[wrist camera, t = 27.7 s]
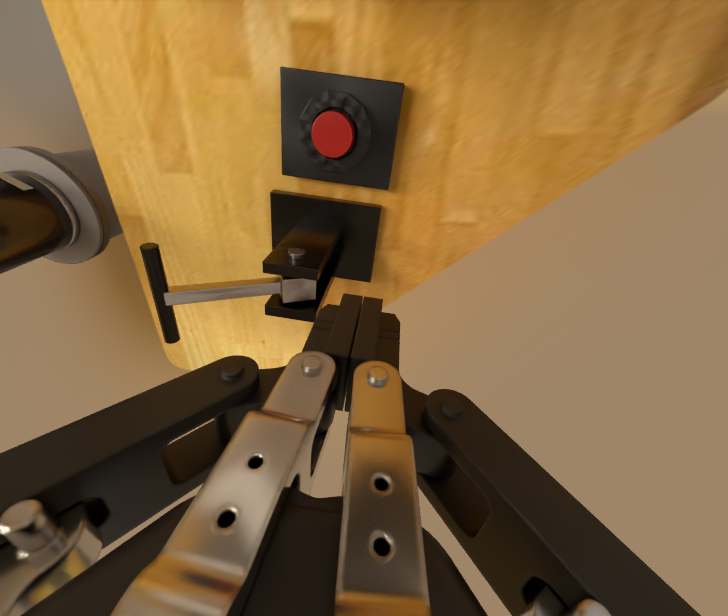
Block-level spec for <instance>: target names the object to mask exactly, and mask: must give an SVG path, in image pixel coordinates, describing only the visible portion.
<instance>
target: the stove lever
mask: <svg viewBox="0 0 728 616" xmlns="http://www.w3.org/2000/svg"><path fill="white" fill-rule="evenodd" d="M140 250H141V254H142V257H143V261H144V265H145V269H146V272H147V276H148V280H149V284H150V287H151V291H152V295H153V299H154V302H155V306H156V310H157V314H158V317H159V321H160V325H161V329H162V332H163V336H164V340H165V342H166V343H169V344H171V343H176V342H178V341H179V340H180V335H179V331H178V326H177V322H176V318H175V313H174V309H173V305H178V304H188V303H197V302H206V301H215V300H224V299H233V298H243V297H252V296H261V295H270V294H280V296H281V299H282V301H283V303H289V302H297V301H306V300H314V299H316V281H314V280H308V279H301V278H295V277H288V276H282V275H277V277H273V278H262V279H250V280H239V281H228V282H217V283H205V284H194V285H183V286H172V287H168V283H167V279H166V275H165V271H164V266H163V262H162V258H161V254H160V249H159V245H158V244H156V243H146V244H142V245H141V246H140Z"/></svg>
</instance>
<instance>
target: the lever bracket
mask: <svg viewBox="0 0 728 616" xmlns="http://www.w3.org/2000/svg"><path fill="white" fill-rule="evenodd" d="M270 197H271V224H272V252H271V253H270V254H269V255H268V256H267V257H266V258H265V260H264V261H263V273H269V274H275V275H282V276H288V277H295V278H301V279H308V280H314V281H316V299H314V300H306V301H297V302H289V303H283V301H282V299H281V296H280V294H272V296H271V297H270V299H269V300H268V301H267V303H266V304H265V315H270V316H277V317H283V318H289V319H296V320H302V321H308V322H315V321H316V317H317V315H318V313H319V311H320V310H321V308H322V306H323V304H324V301H325V299H326V296H327V294H328V292H329V289H330V287H331V284H332V282H333V279H334V277H338V278H344V279H351V280H357V281H364V282H370V281H371V276H372V269H373V262H374V255H375V248H376V241H377V234H378V227H379V220H380V213H381V205H376V204H369V203H362V202H355V201H348V200H342V199H335V198H328V197H321V196H314V195H307V194H301V193H294V192H287V191H280V190H273V191H271V192H270Z"/></svg>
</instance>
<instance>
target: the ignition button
mask: <svg viewBox="0 0 728 616" xmlns="http://www.w3.org/2000/svg"><path fill="white" fill-rule="evenodd" d="M354 139H355V130H354V126H353V124H352V122H351V120H350V119H349V118H348V117H347V116H346V115H345V114H344V113H342V112H339V111H327V112H324V113H322V114H320V115H319V116H318V117H317V118H316V120H315V121H314V123H313V126H312V140H313V143H314V145H315V147H316V149H317V150H318V151H319V152H320V153H321V154H322V155H324V156H326V157H329V158H337V157H340V156H342V155H344V154H345V153H346V152H348V151H349V150H350V148H351V147H352V145H353V143H354Z"/></svg>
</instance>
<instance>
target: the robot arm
mask: <svg viewBox="0 0 728 616" xmlns="http://www.w3.org/2000/svg"><path fill="white" fill-rule="evenodd" d="M80 231H81V227H80V221H79V218H78V215H77V213H76V211H75V209H74V207H73V205H72V204H71V202H70V201H69V199H68V198H67V197H66V196H65V195H64V193H63V192H62V191H61V190H60V189H59V188H57V187H56V186H55V185H54V184H53V183H51V182H50V181H49V180H47V179H45V178H44V177H42V176H40V175H38V174H36V173H33V172H30V171H25V170H13V171H7V172H0V274H1V273H4V272H6V271H9V270H11V269H14V268H16V267H18V266H21V265H23V264H26V263H28V262H31V261H33V260H35V259H38V258H40V257H43V256H45V255H48V254H50V253H53V252H55V251H57V250H62V249H65V248H67V247H69V246H72V245H73V244H75V243H76V242H77V240H78V239H79V236H80ZM362 298H363V296H358V295H351V294H343V297H342V300H341V303H340V306H337V305H331V304H327V305H326V306H325V307H324V308H322V309H321V310H320V311H319V313H318V315H317V317H316V321H315V322H314V324H313V328H312V329H311V332H310V334H309V336H308V339H307V341H306V343H305V346H304V348H303V350H302V352H301V353H299V354H296V355H295V356H293V357H292V358H291V359H290V361H289V362H288V364H287V365H286V366H284V367H279V368H271V369H259V367H258V364H257V363H256V362H255V361H254V360H253V359H251V358H249V357H246V356H229V357H225V358H222V359H220V360H217V361H215V362H213V363H210V364H208V365H206V366H203V367H201V368H199V369H196V370H194V371H192V372H190V373H187V374H185V375H182V376H180V377H178V378H175V379H173V380H171V381H168V382H166V383H164V384H161V385H159V386H157V387H154V388H152V389H150V390H147V391H145V392H143V393H140V394H138V395H136V396H133V397H131V398H129V399H126V400H124V401H122V402H119V403H117V404H115V405H112V406H110V407H108V408H105V409H103V410H101V411H98V412H96V413H94V414H91V415H89V416H87V417H84V418H82V419H80V420H77V421H75V422H73V423H71V424H68V425H66V426H63V427H61V428H59V429H57V430H54V431H52V432H49V433H47V434H45V435H42V436H40V437H38V438H36V439H33V440H31V441H28V442H26V443H24V444H21V445H19V446H17V447H14V448H12V449H10V450H7V451H5V452H3V453H0V616H487V614H486V612H485V611H484V609H483V608H482V606H481V605H480V603H479V601H478V600H477V598H476V597H475V595H474V594H473V592H472V591H471V589H470V587H469V586H468V584H467V583H466V582H465V580H464V578H463V577H462V575H461V574H460V572H459V570H458V569H457V567H456V566H455V564H454V563H453V561H452V559H451V558H450V557H449V555H448V554H447V552H446V551H445V550H444V548H443V547H442V546H441V545H440V543H439V542H438V541H437V540H436V539H435V538H434V537H433V536H432V535H431V534H430V533H429V532H428V531H426V530H425V529H424V528H423V527H422V526H421V516H420V506H419V497H418V487H419V488H420V489H421V491H422V492H423V494H424V495H425V496H426V498H427V499H428V500H429V502H430V503H431V504H432V506H433V507H434V509H435V510H436V511H437V513H438V514H439V516H440V517H441V518H442V520H443V521H444V523H445V524H446V525H447V527H448V528H449V529H450V531H451V532H452V534H453V535H454V536H455V538H456V539H457V540H458V542H459V543H460V545H461V546H462V547H463V549H464V550H465V551H466V553H467V554H468V556H469V557H470V558H471V560H472V561H473V563H474V564H475V565H476V567H477V568H478V569H479V571H480V572H481V574H482V575H483V576H484V578H485V579H486V580H487V582H488V583H489V585H490V586H491V587H492V589H493V590H494V592H495V593H496V594H497V595H498V597H499V598H500V600H501V601H502V603H503V604H504V605H505V607H506V608H507V609H508V611H509V612H510V613H511V615H512V616H701V615H700V614H699V613H697V612H696V611H695V610H694V609H693V608H692V607H691V606H690V605H689V604H688V603H687V602H686V601H685V600H684V599H682V598H681V597H680V596H679V595H678V594H677V593H676V592H675V591H674V590H673V589H672V588H671V587H670V586H669V585H667V584H666V583H665V582H664V581H663V580H662V579H661V578H660V577H659V576H658V575H657V574H656V573H655V572H654V571H652V570H651V569H650V568H649V567H648V566H647V565H646V564H645V563H644V562H643V561H642V560H641V559H640V558H639V557H637V556H636V555H635V554H634V553H633V552H632V551H631V550H630V549H629V548H628V547H627V546H626V545H625V544H624V543H622V542H621V541H620V540H619V539H618V538H617V537H616V536H615V535H614V534H613V533H612V532H611V531H610V530H608V528H606V527H605V526H604V525H603V524H602V523H601V522H600V521H599V520H598V519H597V518H596V517H595V516H594V515H593V514H591V513H590V512H589V511H588V510H587V509H586V508H585V507H584V506H583V505H582V504H581V503H580V502H579V501H577V500H576V499H575V498H574V497H573V496H572V495H571V494H570V493H569V492H568V491H567V490H566V489H565V488H564V487H563V486H562V485H560V484H559V483H558V482H557V481H556V480H555V479H554V478H553V477H552V476H550V474H549V473H548V472H546V471H545V470H544V469H543V468H542V467H541V466H540V465H539V464H538V463H537V462H536V461H535V460H534V459H533V458H532V457H530V456H529V455H528V454H527V453H526V452H525V451H524V450H523V449H522V448H521V447H520V446H519V445H518V444H517V443H516V442H514V441H513V440H512V439H511V438H510V437H509V436H508V435H507V434H506V433H505V432H504V431H503V430H502V429H501V428H499V427H498V426H497V425H496V424H495V423H494V422H493V421H492V420H491V419H490V418H489V417H488V416H487V415H486V414H484V413H483V412H482V411H481V410H480V409H479V408H478V407H477V406H476V405H475V404H474V403H473V402H472V401H471V400H470V399H468V398H467V397H466V396H464V395H463V394H461V393H459V392H456V391H454V390H449V389H439V390H436V391H433V392H432V393H430V394H429V396H428V395H426V394H424V393H421V392H419V391H417V390H415V389H413V388H411V387H410V386H409V385H407V384H406V383H405V382H404V381H403V379H402V378H401V376H400V373H399V344H400V342H399V340H400V322H399V320H398V319H397V317H396V315H395V314H391V313H383V312H381V311H382V302H383V299H378V298H371V297H365V296H364V299H363V304H362ZM361 307H362V308H361ZM346 392H347V393H346ZM345 396H346V402H345V411H347V412H349V418H348V425H347V434H346V443H345V455H344V464H343V476H342V486H341V496H338V497H328V498H314V497H311V496H310V493H311V488H312V485H313V481H314V478H315V475H316V472H317V469H318V466H319V463H320V460H321V457H322V454H323V451H324V448H325V445H326V442H327V439H328V436H329V433H330V428H331V424H332V422H333V418H334V414H335V410H340V411H343V406H344V401H345ZM213 418H214V420H213V421H211V422H210V423H208V424H206V425H204V426H202V427H200V428H198V429H197V430H195V431H193V432H191V433H190V434H188V435H186V436H184V437H182V438H180V439H178V440H176V441H175V442H173V443H171V444H169V443H170V442H171V441H172V440H174V439H176V438H178V437H180V436H182V435H183V434H185V433H187V432H189V431H191V430H192V429H195V428H196V427H198V426H200V425H202V424H204V423H206V422H207V421H209V420H211V419H213ZM168 444H169V445H168ZM202 483H203V485H202V487H201V488H200V490H199V491H198V493H197V495H196V496H193V497H191V498H189V499H187V500H186V501H184V502H182V503H180V504H179V505H177V506H176V507H174V508H173V509H171V510H170V511H168V512H167V513H165V514H164V515H163V516H161V517H160V518H159V519H157V520H156V521H154V522H153V523H152V524H150V525H148V526H147V527H146V528H144V529H143V530H141V531H140V532H138V533H137V534H136V535H134V536H133V537H131V538H130V539H129V540H127V541H126V542H124V543H123V544H121V545H120V546H118V547H117V548H116V549H114V550H113V551H111V552H110V553H109V554H107V555H106V556H105V557H103V558H102V559H100V560H99V561H97V559H98V557H99V554H100V552H101V550H102V549H103V548H105V547H106V546H108V545H109V544H111V543H112V542H114V541H116V540H117V539H118V538H120V537H122V536H123V535H125V534H126V533H128V532H129V531H131V530H132V529H134V528H135V527H137V526H138V525H140V524H141V523H143V522H145V521H146V520H148V519H149V518H151V517H152V516H153V515H155V514H157V513H158V512H160V511H161V510H163V509H164V508H166V507H167V506H169V505H171V504H172V503H173V502H175V501H177V500H178V499H180V498H181V497H183V496H184V495H186V494H187V493H188V492H190V491H192V490H193V489H195V488H196V487H198V486H199V485H201V484H202ZM417 485H418V487H417ZM96 561H97V562H96Z"/></svg>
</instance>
